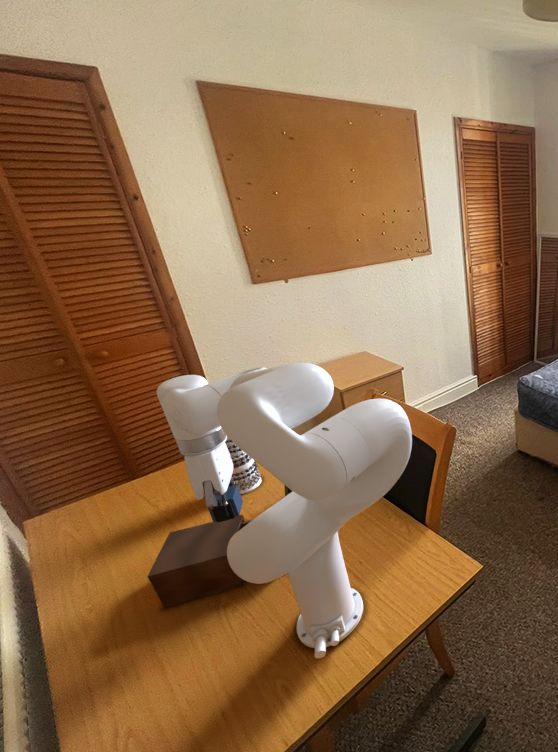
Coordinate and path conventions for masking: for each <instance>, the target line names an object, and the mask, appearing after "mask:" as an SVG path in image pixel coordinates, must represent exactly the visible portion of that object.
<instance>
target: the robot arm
mask: <svg viewBox="0 0 558 752" xmlns="http://www.w3.org/2000/svg"><path fill="white" fill-rule="evenodd" d="M334 391H335V383H334V381H333V378H332V377H331V374H329V373H328V371H326V370H325V369H324V368H322V367H321V366H319V365H317V364H314V363H310V362H291V363H287V364H281V365H278V366H273V367H269V368H267V367H264V366H261V367H256V368H252V369H247V370H244V371H239V372H237V373H234V374H231V375H228V376H225V377H223V378H220V379H218V380H215V381H213V382H208V380H207V378H205V377H203V376H202V375H198V374H186V375H185V374H184V375H180V376H176V377H172V378H170V379H167V380H165V381H163V382H162V383H160V384H159V385H158V387H157V389H156V396H157V399H158V401H159V405H160V407H161V409H162V411H163V413H164V416H165V418H166V421H167V423H168V425H169V428H170V430H171V434H172V435H173V439H174V441H175V443H176V446H177V448H178V450H179V453H180V454H181V455H183V459H184V464H185V468H186V473H187V476H188V479H189V482H190V485H191V489H192V491H193V494H194V497H195V499H196V500H197V501H201V500H204V497H205V506H206V508H207V509H208V508H211V509H212V511H213V514H214V516H215V519H216V521H217V522H222V521H226V520H230V519H234V518H235V513H234V510H233V508H232V505H231V502H228V500H227V496H226V491H227V488H228V487H230V486H232V485H233V486H235V485H234V480H233V478H232V473H233V462H232V459H231V456H230V453H229V451H228V448H227V446H226V443H225V442H226V440H227V436H228V437H229V438H230V439H231V441H232V442H233V443H235V444H236V445H237V446H238V447H239V448H240V449H241V450H242V451H244V452H245V453H246V454H247V455H248V456H250V457H251V458H252V459H254V460H255V461H256V464H258V465H260V466H261V467H262V468H263V469H265V471H267V472H268V473H270V474H271V475H272V476H273V477H275V478H276V479H277V480H279V482H281V483H282V484H283V485H286V486H287V487H288V488H289V489H291V490H292V492H291V493H290V494H288V495H287V496H285V495H284V497H282V498H281V499H280V500H278V501H276V502H275V503H274V504H273V505H271V506H270V507H269V508H267V509H265V510H264V511H263V512H261V513H260V514H259V515H258V516H256V517H254V518H253V519H254V520H252V519H251V520H252V521H251V522H250V523H248V524H247V525H246V526H245V527H243V528H242V529H241V530H239V531H238V532H237V533H235V534H234V535H233V536H232V538H231V539H230V541H229V543H228V547H227V558H228V562H229V565H230V567H231V568H232V570H233V571H234V573H235V574H236V575H237V576H239V577H240V578H242V579H243V580H244V582H247V583H251V584H257V585H261V584H267V583H270V582H273V581H275V580H278V579H279V578H281V577H285V576H286V575H287V577H288V579H289V583H290V585H291V589H292V592H293V594H294V595H293V596H294V598H295V600H296V603H297V607H298V611H299V612H300V614H299V615H298V618H297V621H296V634H297V637H298V639H299V640H300V642H301V643H302V644H303V645H304V646H306V647H308V648H311V649H314V655H313V656H314V658H315V659H322V658H324V657H325V656H326V654H327V648H328V647H331V646H332V647H335V646H338V645H339V643H340V642H342V641H343V640H344V639H346V638H347V637H348V636H349V635H350V634H351V633H352V632H354V630H355V629H356V627H357V626H358V625H359V623H360V621H361V618H362V616H363V613H364V602H363V598H362V596H361V594H360V593H359V591H358V590H356V589H354V588H352V587H351V583H350V580H349V579H350V578H349V575H348V572H347V568H346V564H345V559H344V556H343V551H342V547H341V543H340V538H339V531H340V530H341V529H342V527H343V526H345V524H346V523H347V522H348V521H350V520H351V519H352V518H354V517H355V516H357V515H359V514H361V513H362V512H364V511H365V510H366V509H368V508H369V507H371V506H373V505H374V504H375V503H377V502H378V501H379V500H380V499H382V498H383V497H384V496H385V495H386V494H388V492H389V491H391V489H393V487H394V486H395V485H396V483H397V482H398V480H399V479H400V478H401V476H402V475H403V473H404V471H405V470H406V467H407V465H408V463H409V460H410V458H411V453H412V448H413V447H412V446H413V434H412V426H411V423H410V420H409V416H408V415H407V413H406V411H405V410H404V409H403V407H402V406H401V405H399V404H398V403H397V402H395V401H393V400H391V399H388V398H372V399H366V400H363V401H360V402H357V403H355V404H353V405H350V406H349V407H346V408H344V409H342V411H340V412H338V413H336V414H335V415H333V416H331V417H329V418H328V419H326V420H324V421H323V422H320V424H318V425H316V426H314V427H313V428H311V429H309V430H308V431H306V432H304V433H302V434H299V433H297V432H296V431H294V429H296V428H297V427H299V426H301V425H303V424H304V423H307V422H308V421H310V420H312V419H314V418H315V417H317V416H318V415H319V414H321V413H322V412H323V411H325V410H326V408H327V407H328V406H329V405H330V403H331V401H332V399H333V397H334ZM226 435H227V436H226ZM215 490H217V491H216V492H215ZM219 495H221V497H222V500H221V499H218V500H216V498H215V496H219Z"/></svg>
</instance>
